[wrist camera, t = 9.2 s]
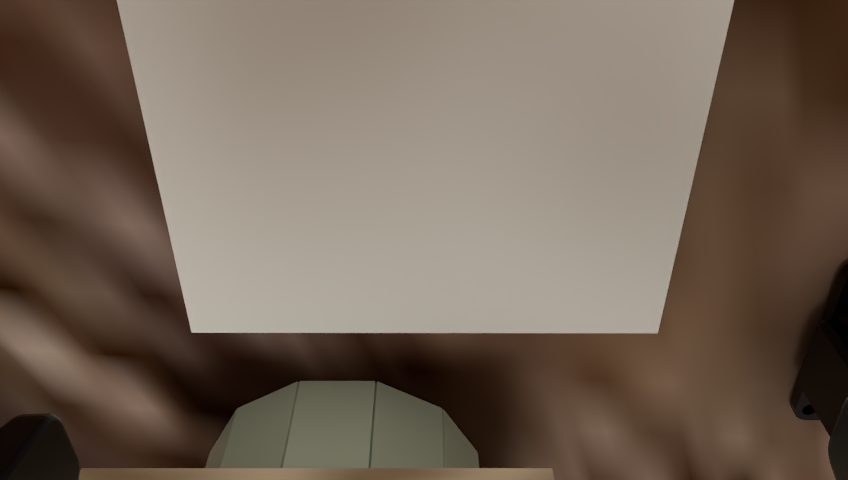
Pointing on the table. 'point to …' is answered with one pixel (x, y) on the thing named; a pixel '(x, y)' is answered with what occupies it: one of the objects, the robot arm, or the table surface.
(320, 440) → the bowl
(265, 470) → the beige square tray
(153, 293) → the table surface
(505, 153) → the mat
